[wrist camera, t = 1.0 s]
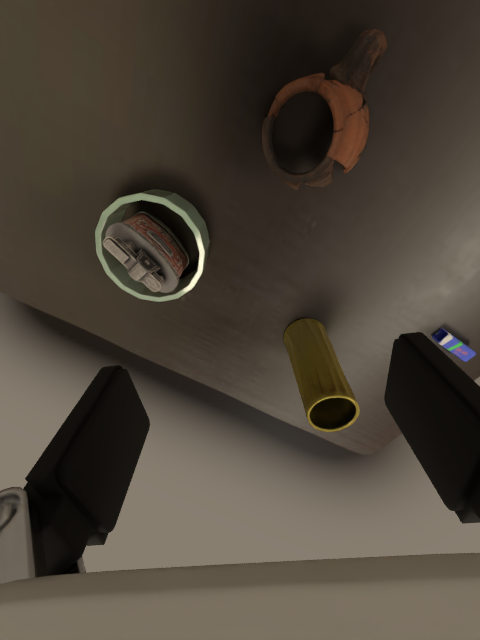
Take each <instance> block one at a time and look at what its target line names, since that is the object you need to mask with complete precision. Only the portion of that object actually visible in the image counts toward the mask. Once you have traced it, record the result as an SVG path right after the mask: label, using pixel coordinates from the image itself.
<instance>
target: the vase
mask: <svg viewBox="0 0 480 640" xmlns="http://www.w3.org/2000/svg"><path fill="white" fill-rule="evenodd" d="M284 343H285V345H286V348H287V351H288V354H289V357H290V360H291V364H292V367H293V371H294V374H295V377H296V381H297V384H298V388H299V391H300V395H301V398H302V401H303V405H304V408H305V412H306V416H307V419H308V421H309V423H310V425H311V426H312V427H314V428H315V429H317V430H320V431H325V432H335V431H339V430H342V429H345V428H347V427H349V426H350V425H351V424H353V423H354V422H355V420H356V419H357V417H358V416H359V412H360V410H359V405H358V403H357V401H356V399H355V397H354V394H353V392H352V390H351V388H350V386H349V384H348V382H347V380H346V377H345V375H344V373H343V371H342V368H341V366H340V364H339V362H338V359H337V357H336V354H335V352H334V349H333V347H332V344H331V342H330V340H329V338H328V336H327V334H326V329H325V327H324V326H323V325H322V324H321V323H320V322H319V321H317V320H314V319H308V318H306V319H300V320H297V321H295V322H293V323H292V324H291V325H290V326H289V327H288V328H287V329H286V331H285V333H284Z"/></svg>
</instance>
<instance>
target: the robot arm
mask: <svg viewBox="0 0 480 640" xmlns="http://www.w3.org/2000/svg"><path fill="white" fill-rule="evenodd" d="M385 404H386V406H387V408H388V410H389V412H390V413H391V415H392V417H393V418H394V420H395V422H396V423H397V425H398V427H399V428H400V430H401V432H402V433H403V435H404V437H405V438H406V440H407V442H408V443H409V445H410V447H411V449H412V450H413V452H414V454H415V455H416V457H417V459H418V460H419V462H420V463H421V465H422V467H423V469H424V470H425V472H426V474H427V475H428V477H429V479H430V480H431V482H432V484H433V485H434V487H435V489H436V490H437V492H438V494H439V496H440V497H441V499H442V501H443V502H444V504H445V505H446V507H447V508H448V509H449V510H451V511H455V513H456V514H457V516H458V517H459V519H460V521H461V522H462V523H477V522H480V386H479V385H477V384H476V383H475V382H474V381H473V380H472V379H471V378H470V377H469V376H468V375H467V374H466V373H465V372H464V371H462V370H461V369H460V368H459V367H458V366H457V365H456V364H455V363H454V362H453V361H452V360H451V359H450V358H449V357H448V356H446V355H445V354H444V353H443V352H442V351H441V350H440V349H439V348H438V347H437V346H436V345H435V344H434V343H433V342H431V341H430V340H429V339H428V338H427V337H426V336H425V335H424V334H423V333H421V332H416V333H407V334H401V335H400V336H399V339H395V341H394V344H393V349H392V355H391V361H390V367H389V373H388V379H387V385H386V391H385ZM149 426H150V422H149V418H148V416H147V413H146V411H145V409H144V407H143V405H142V402H141V400H140V398H139V396H138V393H137V391H136V389H135V386H134V384H133V382H132V380H131V378H130V375H129V373H128V371H127V370H126V369H123V368H122V367H121V366H119V365H117V366H108V367H103V368H102V369H101V370H100V371H99V373H98V374H97V376H96V377H95V378H94V380H93V381H92V382H91V384H90V385H89V387H88V388H87V390H86V391H85V393H84V394H83V396H82V397H81V399H80V400H79V402H78V403H77V404H76V406H75V407H74V409H73V410H72V412H71V413H70V414H69V416H68V417H67V419H66V420H65V422H64V423H63V425H62V426H61V428H60V429H59V430H58V432H57V433H56V435H55V436H54V438H53V439H52V441H51V442H50V444H49V445H48V447H47V448H46V450H45V451H44V452H43V454H42V455H41V457H40V458H39V460H38V461H37V462H36V464H35V465H34V467H33V468H32V470H31V471H30V473H29V474H28V476H27V477H26V478H25V479H26V480H27V482H28V483H27V484H26V486H25V487H24V489H22V488H20V487H11V488H7V489H4V490H1V491H0V640H480V553H459V554H429V555H408V556H387V557H365V558H344V559H323V560H303V561H283V562H264V563H246V564H226V565H207V566H191V567H190V566H189V567H172V568H155V569H137V570H119V571H105V572H104V571H103V572H90V573H86V571H85V566H84V562H83V558H82V554H83V552H84V550H85V547H86V545H87V546H91V545H104V544H105V541H106V538H107V535H108V533H109V532H111V531H112V530H113V529H114V527H115V525H116V522H117V519H118V516H119V513H120V510H121V508H122V505H123V502H124V499H125V496H126V493H127V490H128V487H129V485H130V482H131V479H132V476H133V473H134V470H135V467H136V465H137V462H138V459H139V456H140V453H141V450H142V448H143V445H144V442H145V439H146V436H147V433H148V431H149Z"/></svg>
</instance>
